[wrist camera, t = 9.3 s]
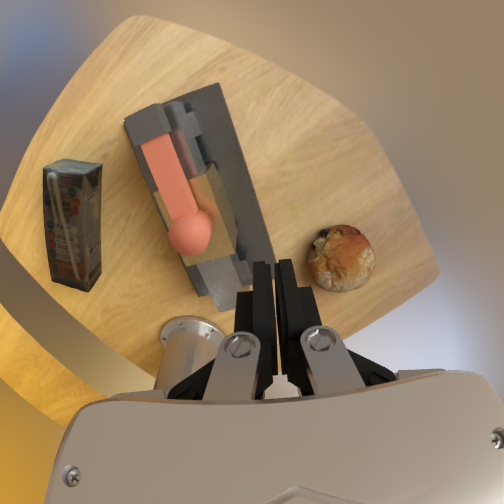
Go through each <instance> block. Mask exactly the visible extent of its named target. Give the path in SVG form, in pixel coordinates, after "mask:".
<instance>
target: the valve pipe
mask: <svg viewBox="0 0 504 504" xmlns="http://www.w3.org/2000/svg"><path fill="white" fill-rule="evenodd" d="M162 106H163V109H164V111H165V114H166V117H167V119H168V122H169V125H170V127H171V130H172V131H171V132H168V133H169V136H170V139H171V141H172V144H173V147H174V149H175V152H176V154H177V157H178V159H179V162H180V165H181V167H182V170H183V172H184V175H185V177H186V180H187V182H188V185H189V187H190V190H191V192H192V195H193V197H194V200H195V202H196V204H197V207H198V209H200V210H202V211H204V212H205V213H206V214H207V215H208V216H209V217H210V219H211V221H212V232H211V236H210V239H209V242H208V245H207V247H206V249H205V250H204V251H203V252H202V253H200V254H198V255H195V256H186V255H182V254H180V253H178V252H177V253H178V255H179V257H180V259H181V261H182V264H183V266H184V268H185V270H186V272H187V274H188V276H189V278H190V280H191V282H192V284H193V286H194V288H195V290H196V292H197V294H198V296H199V297H200V296H205V295H209V294H210V295H211V297H212V299H213V301H214V303H215V305H216V307H217V309H218V311H219V312H223V311H228V310H232V309H236V297H237V292H242V291H250V286H249V285H251V284H253V262H254V261H265V264H270V266H271V276H272V279H275V272H274V263H277V262H276V258H275V255H274V252H273V248H272V245H271V242H270V238H269V235H268V232H267V228H266V225H265V222H264V219H263V216H262V212H261V209H260V206H259V203H258V199H257V196H256V193H255V190H254V187H253V184H252V180H251V177H250V174H249V171H248V168H247V165H246V162H245V159H244V155H243V152H242V149H241V146H240V143H239V140H238V137H237V134H236V131H235V128H234V125H233V122H232V119H231V116H230V113H229V110H228V107H227V104H226V101H225V98H224V95H223V92H222V89H221V86H220V83H216V84H213V85H210V86H207V87H204V88H201V89H198V90H196V91H193V92H190V93H188V94H185V95H182V96H180V97H177V98H175V99H172V100H170V101H168V102H165V103H163V104H162ZM123 123H124V126H125V128H126V131H127V134H128V137H129V139H130V142H131V145H132V147H133V150H134V153H135V155H136V158H137V160H138V163H139V165H140V168H141V170H142V173H143V175H144V178H145V180H146V183H147V185H148V188H149V190H150V192H151V195H152V197H153V199H154V202H155V204H156V206H157V209H158V211H159V213H160V216H161V218H162V220H163V222H164V225H165V227H166V229H167V231H168V233H169V229H170V227H171V226H172V224H173V221H172V219H171V217H170V215H169V212H168V210H167V208H166V206H165V203H164V201H163V199H162V196H161V194H160V192H159V189H158V187H157V185H156V182H155V180H154V178H153V175H152V173H151V170H150V168H149V166H148V163H147V161H146V158H145V156H144V153H143V151H142V148H141V146H140V145H138V146H136V147H135V146H134V143H133V141H132V138H131V136H130V133H129V130H128V128H127V125H126V122H125V121H124V122H123Z"/></svg>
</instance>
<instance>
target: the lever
mask: <svg viewBox="0 0 504 504" xmlns="http://www.w3.org/2000/svg"><path fill="white" fill-rule="evenodd" d="M124 120H125V122H126V125H127V128H128V130H129V133H130V136H131V138H132V141H133V143H134V146H135V147H136V146H138V145H140V146H141V148H142V151H143V153H144V156H145V158H146V161H147V163H148V166H149V168H150V170H151V173H152V175H153V178H154V180H155V182H156V185H157V187H158V189H159V192H160V194H161V196H162V199H163V201H164V203H165V206H166V208H167V210H168V212H169V215H170V217H171V219H172V221H173V224H172V226H171V227H170V229H169V233H168V238H169V242H170V244H171V246H172V247H173V248H174V250H176V251H177V252H178V253H180V254H182V255H186V256H195V255H198V254H200V253H202V252H203V251H204V250H205V249H206V247H207V245H208V242H209V239H210V236H211V232H212V221H211V219H210V217H209V216H208V215H207V214H206V213H205V212H204V211H202V210H200V209H198V207H197V204H196V202H195V200H194V197H193V195H192V192H191V190H190V187H189V185H188V182H187V180H186V177H185V175H184V172H183V170H182V167H181V165H180V162H179V159H178V157H177V154H176V152H175V149H174V147H173V144H172V141H171V139H170V136H169V133H168V132H171V131H172V130H171V127H170V125H169V122H168V119H167V117H166V114H165V111H164V109H163V106H162V104H152V105H150V106H148V107H146V108H144V109H142V110H140V111H138V112H136V113H134V114H132V115H130V116H128V117H126V118H124Z"/></svg>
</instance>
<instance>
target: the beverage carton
mask: <svg viewBox="0 0 504 504" xmlns="http://www.w3.org/2000/svg"><path fill="white" fill-rule="evenodd" d="M101 178H102V164H101V163H90V162H84V161H77V160H71V159H62V160H58V161H56V162H54V163H53V164H50V165H47V166H45V167H44V168H43V213H44V228H45V239H46V248H47V255H48V262H49V268H50V274H51V279H52V281H53V282H56V283H60V284H62V285H66V286H68V287H71V288H75V289H78V290H81V291H84V292H89V291H90V290H91V288H92V287H93V286H94V284H95V282H96V281H97V279H98V278H99V276H100V275H101V273H102V272H101V240H100V211H101Z"/></svg>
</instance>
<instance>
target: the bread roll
mask: <svg viewBox="0 0 504 504" xmlns="http://www.w3.org/2000/svg"><path fill="white" fill-rule="evenodd" d="M375 262H376V256H375V253H374V250H373V248H372V247H371V245H370V243H369V241H368V240H367V239H366V238H365V236H364V235H363V234H362V233H361V232H360V231H359V230H358V229H357V228H355V227H351V226H349V225H338V226H334V227H332V228H329V229H323V230H321V231H320V235H319V236H318V237H317V239H316V240H315V241H314V242H313V244H312V249H311V251H310V253H309V257H308V262H307V263H308V268H309V272H310V274H311V277H312V279H313V280H314V282H315V283H316V284H317V285H318V286H319V287H320V288H322V289H324V290H327V291H331V292H337V293H342V292H348V291H351V290H355V289H358V288H360V287H361V286H363V285H364V284H366V283H367V282H368V280H369V279H370V277H371V275H372V273H373V270H374V267H375Z"/></svg>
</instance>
